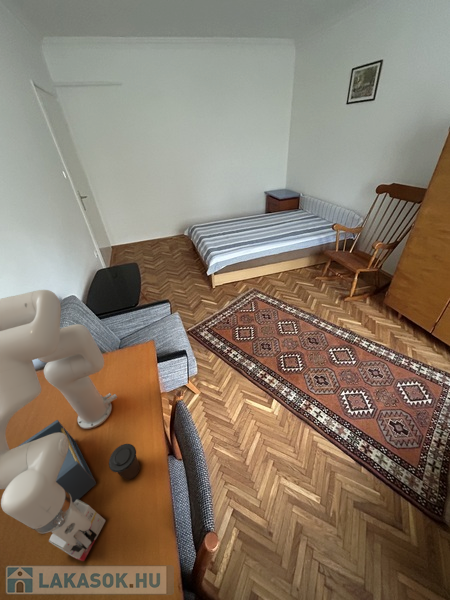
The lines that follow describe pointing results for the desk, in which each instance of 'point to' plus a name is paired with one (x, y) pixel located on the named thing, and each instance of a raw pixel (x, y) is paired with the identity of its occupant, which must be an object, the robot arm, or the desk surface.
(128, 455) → the coffee cup
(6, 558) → the desk surface
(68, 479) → the shelf
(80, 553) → the ink box
